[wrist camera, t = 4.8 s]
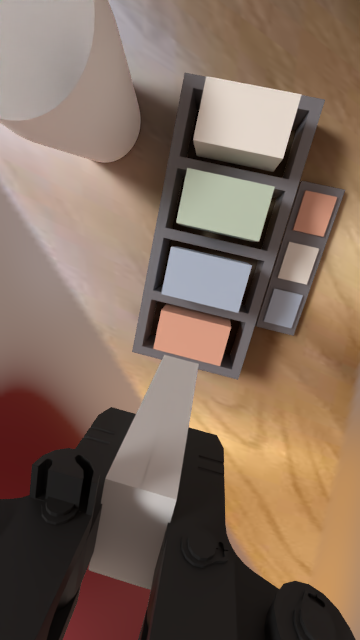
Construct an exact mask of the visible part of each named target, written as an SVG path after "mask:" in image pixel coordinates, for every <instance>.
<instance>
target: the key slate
mask: <svg viewBox="0 0 360 640" xmlns="http://www.w3.org/2000/svg"><path fill="white" fill-rule="evenodd" d="M251 267H252V265H250V264H249V263H247V262H242V261H238V260H234V259H230V258H225V257H221V256H217V255H212V254H208V253H204V252H200V251H195V250H191V249H187V248H182V247H178V246H174V247H171V249H170V254H169V259H168V264H167V269H166V274H165V278H164V283H163V288H162V293H161V294H163V295H167V296H171V297H175V298H179V299H183V300H187V301H192V302H196V303H200V304H204V305H208V306H212V307H216V308H220V309H224V310H228V311H232V312H236V313H238V312H239V309H240V305H241V302H242V298H243V295H244V292H245V288H246V285H247V281H248V278H249V274H250V271H251Z"/></svg>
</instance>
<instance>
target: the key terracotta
mask: <svg viewBox="0 0 360 640" xmlns="http://www.w3.org/2000/svg"><path fill="white" fill-rule="evenodd" d="M230 330H231V323H230V319H229V318H225V317H221V316H217V315H213V314H209V313H205V312H201V311H197V310H193V309H189V308H185V307H181V306H177V305H173V304H169V303H167V304H166V305H165V306H164V307H163V309H162V310H161V314H160V319H159V323H158V328H157V333H156V338H155V343H154V347H153V349H156V350H160V351H163V352H167V353H171V354H175V355H179V356H183V357H187V358H190V359H194V360H198V361H202V362H206V363H210V364H213V365H217V366H220V365H221V361H222V358H223V354H224V351H225V347H226V344H227V340H228V337H229V333H230Z"/></svg>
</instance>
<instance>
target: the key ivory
mask: <svg viewBox="0 0 360 640" xmlns="http://www.w3.org/2000/svg"><path fill="white" fill-rule="evenodd" d="M301 95H302V94H296V93H291V92H286V91H281V90H276V89H270V88H265V87H260V86H255V85H250V84H244V83H239V82H234V81H229V80H224V79H218V78H213V77H208V76H206V80H205V85H204V89H203V94H202V99H201V104H200V109H199V114H198V119H197V123H196V128H195V133H194V138H193V142H194V146H195V150H196V154H197V156H200V157H205V158H209V159H214V160H219V161H224V162H228V163H233V164H238V165H242V166H247V167H252V168H257V169H261V170H266V171H271V172H273V171H274V170H275V169H276V167H277V166H278V165H279V163H280V162H281V161H282V159H283V157H284V153H285V150H286V147H287V143H288V140H289V136H290V133H291V129H292V126H293V122H294V119H295V115H296V112H297V109H298V105H299V102H300V98H301Z"/></svg>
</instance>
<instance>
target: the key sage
mask: <svg viewBox="0 0 360 640" xmlns="http://www.w3.org/2000/svg"><path fill="white" fill-rule="evenodd" d="M274 188H275V187H274V186H269V185H265V184H260V183H256V182H251V181H246V180H242V179H237V178H232V177H228V176H223V175H218V174H214V173H209V172H204V171H200V170H195V169H190V168H187V172H186V177H185V182H184V186H183V191H182V196H181V201H180V206H179V211H178V215H177V220H176V223H178V224H180V225H182V226H185V227H190V228H194V229H198V230H203V231H207V232H212V233H216V234H220V235H225V236H229V237H233V238H238V239H242V240H247V241H251V242H259V240H260V236H261V233H262V229H263V226H264V222H265V219H266V216H267V212H268V209H269V205H270V202H271V198H272V195H273V191H274Z"/></svg>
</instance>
